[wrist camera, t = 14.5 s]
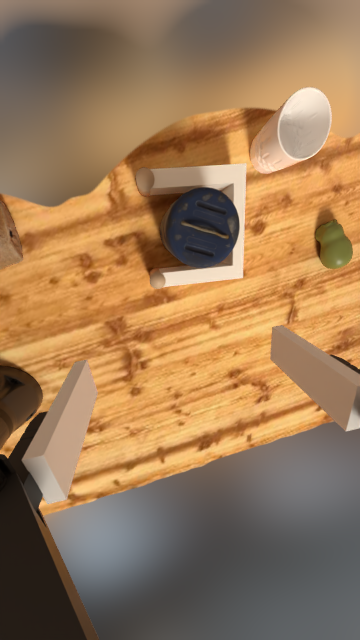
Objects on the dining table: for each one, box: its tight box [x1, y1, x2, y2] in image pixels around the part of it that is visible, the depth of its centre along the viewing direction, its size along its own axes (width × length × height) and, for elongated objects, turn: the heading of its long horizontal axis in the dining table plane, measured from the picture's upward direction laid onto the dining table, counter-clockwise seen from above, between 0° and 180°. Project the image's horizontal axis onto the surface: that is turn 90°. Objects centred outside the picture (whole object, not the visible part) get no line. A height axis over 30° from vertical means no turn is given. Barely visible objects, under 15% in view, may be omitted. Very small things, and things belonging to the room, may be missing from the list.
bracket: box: [136, 163, 246, 289], centre depth 38 cm, size 17×18×6 cm
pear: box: [315, 220, 353, 269], centre depth 44 cm, size 6×5×10 cm
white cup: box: [250, 87, 332, 174], centre depth 33 cm, size 8×8×10 cm
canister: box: [160, 187, 240, 268], centre depth 33 cm, size 10×10×18 cm
